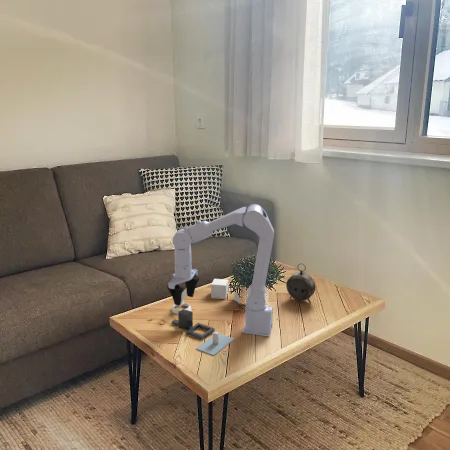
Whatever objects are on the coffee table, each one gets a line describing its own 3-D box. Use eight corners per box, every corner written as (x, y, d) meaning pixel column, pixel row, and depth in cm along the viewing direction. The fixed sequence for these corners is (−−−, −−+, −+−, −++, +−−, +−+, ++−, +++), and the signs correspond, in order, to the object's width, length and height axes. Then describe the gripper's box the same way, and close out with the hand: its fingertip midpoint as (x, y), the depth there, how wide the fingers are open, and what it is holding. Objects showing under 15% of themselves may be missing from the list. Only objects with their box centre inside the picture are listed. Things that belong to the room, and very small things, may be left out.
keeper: (196, 349, 151) (196, 337, 149) (217, 333, 160) (217, 322, 159) (213, 355, 147) (213, 344, 146) (234, 339, 156) (234, 328, 155)
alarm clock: (315, 302, 184) (317, 264, 179) (309, 307, 179) (312, 268, 175) (289, 296, 189) (291, 258, 185) (283, 301, 185) (285, 262, 180)
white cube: (214, 292, 193) (214, 278, 191) (228, 293, 192) (228, 279, 190) (211, 298, 187) (211, 284, 186) (225, 299, 186) (225, 285, 185)
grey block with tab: (167, 327, 164) (166, 311, 163) (179, 319, 170) (179, 304, 168) (202, 340, 156) (202, 323, 154) (214, 331, 162) (214, 315, 160)
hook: (203, 302, 172) (187, 294, 169) (185, 323, 176) (169, 315, 174) (202, 290, 178) (187, 281, 176) (184, 310, 183) (169, 303, 180)
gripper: (185, 255, 167) (186, 290, 170) (160, 268, 155) (162, 305, 158) (202, 259, 163) (202, 294, 167) (177, 272, 151) (178, 310, 155)
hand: (184, 300), depth 162 cm, fingers open, 7 cm apart
